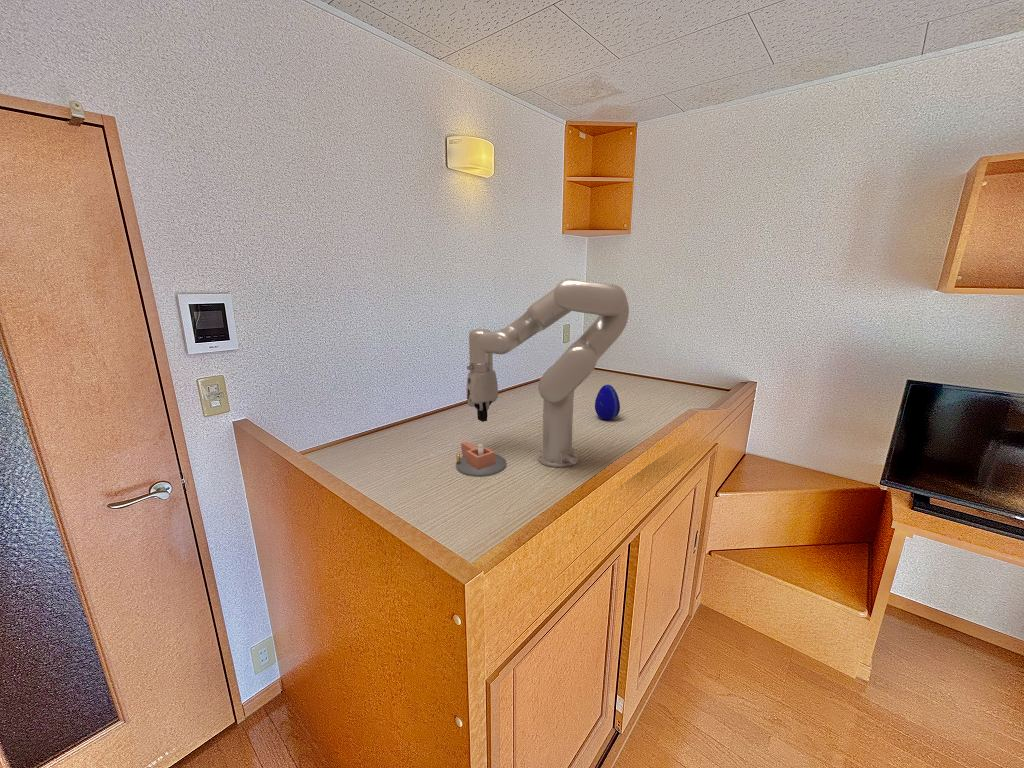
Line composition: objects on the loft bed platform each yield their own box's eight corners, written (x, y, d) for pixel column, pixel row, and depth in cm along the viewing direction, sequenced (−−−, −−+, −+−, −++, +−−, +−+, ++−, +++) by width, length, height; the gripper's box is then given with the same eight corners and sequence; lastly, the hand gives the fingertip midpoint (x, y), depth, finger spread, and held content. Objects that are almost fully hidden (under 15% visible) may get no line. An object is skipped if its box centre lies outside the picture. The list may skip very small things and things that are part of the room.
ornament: (623, 421, 172) (625, 386, 168) (604, 424, 169) (606, 388, 165) (607, 413, 182) (609, 380, 178) (589, 416, 179) (591, 382, 175)
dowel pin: (461, 463, 131) (460, 454, 131) (457, 464, 131) (457, 455, 130) (459, 462, 132) (458, 453, 132) (455, 463, 132) (455, 454, 131)
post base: (516, 466, 130) (515, 445, 129) (473, 481, 121) (472, 458, 119) (487, 451, 143) (487, 431, 141) (446, 463, 133) (445, 442, 132)
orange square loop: (495, 464, 131) (495, 452, 130) (477, 469, 127) (477, 457, 126) (472, 450, 141) (471, 439, 140) (455, 455, 137) (455, 444, 136)
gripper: (467, 372, 127) (469, 428, 132) (506, 366, 136) (506, 418, 141) (455, 368, 133) (457, 422, 138) (493, 362, 142) (494, 413, 146)
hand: (482, 420), depth 139 cm, fingers closed
